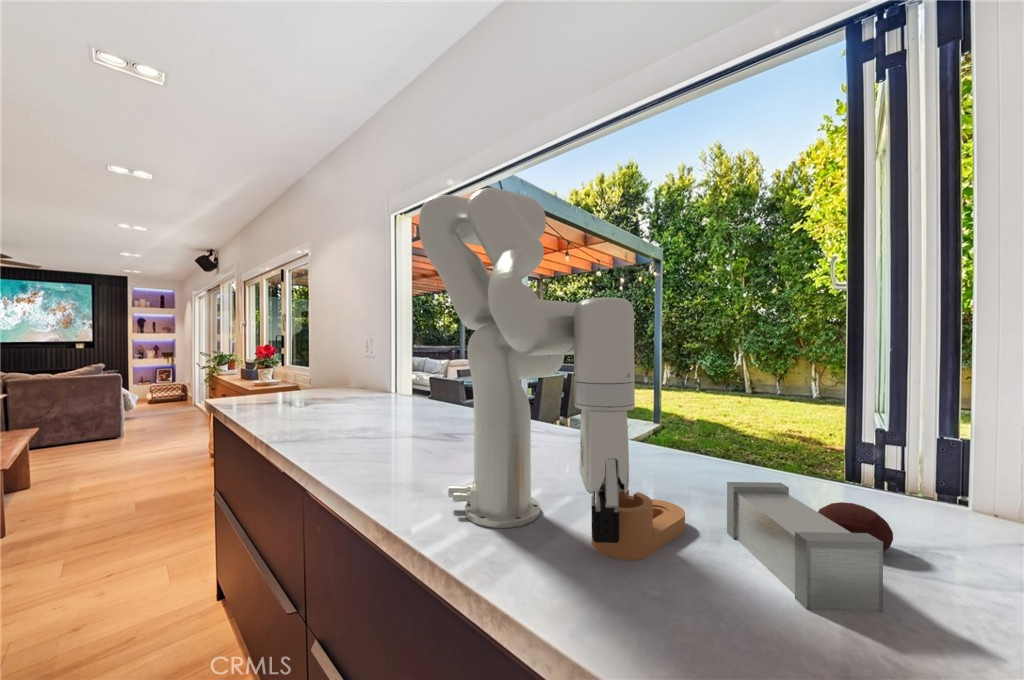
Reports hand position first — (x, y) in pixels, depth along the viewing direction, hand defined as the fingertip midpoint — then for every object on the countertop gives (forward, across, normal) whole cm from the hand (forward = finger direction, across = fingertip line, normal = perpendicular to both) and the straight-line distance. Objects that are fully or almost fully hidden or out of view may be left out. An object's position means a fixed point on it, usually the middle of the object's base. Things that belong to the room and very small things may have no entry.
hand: (605, 539), depth 53 cm
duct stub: (+4, -2, +24) cm, 24 cm away
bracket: (+4, -9, +7) cm, 12 cm away
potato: (+4, -8, +36) cm, 37 cm away
